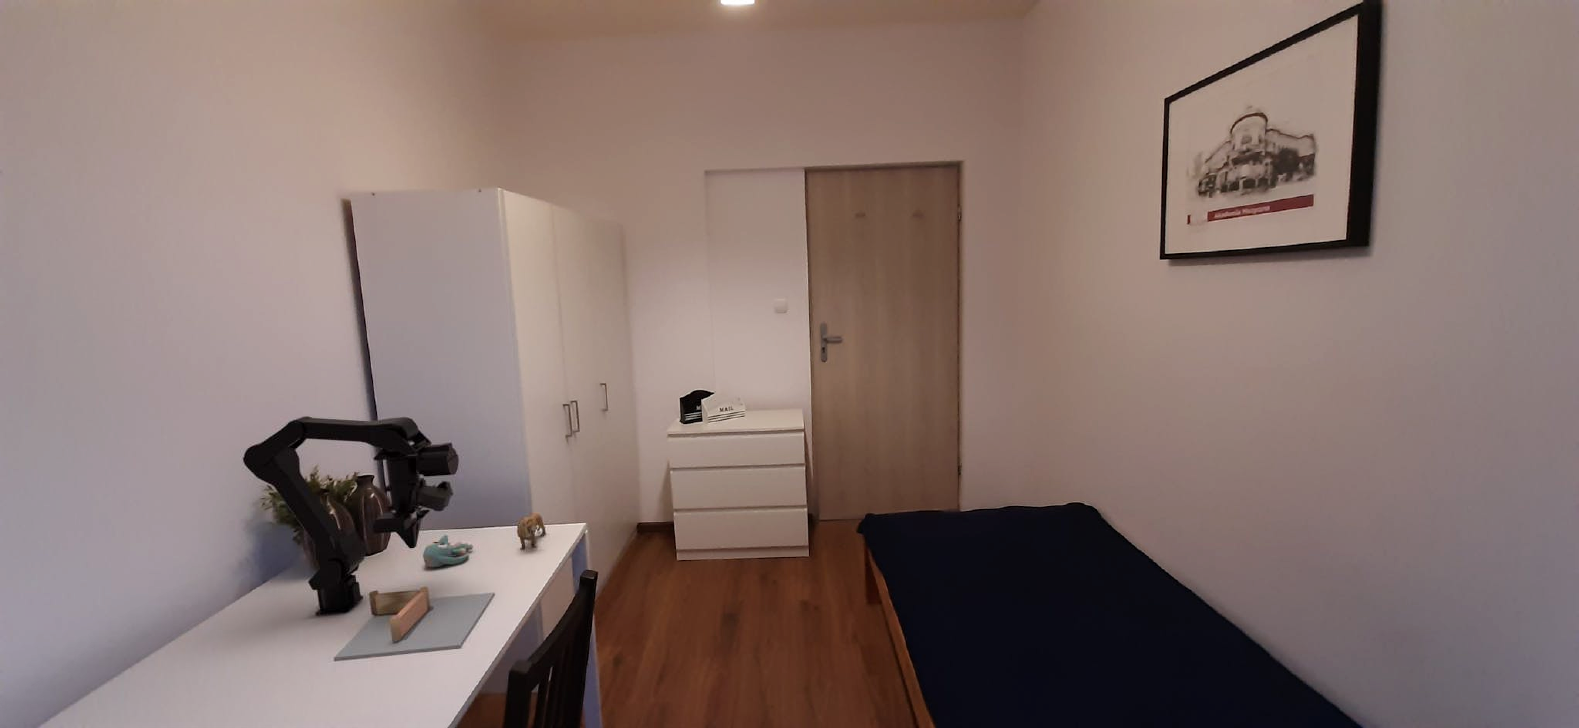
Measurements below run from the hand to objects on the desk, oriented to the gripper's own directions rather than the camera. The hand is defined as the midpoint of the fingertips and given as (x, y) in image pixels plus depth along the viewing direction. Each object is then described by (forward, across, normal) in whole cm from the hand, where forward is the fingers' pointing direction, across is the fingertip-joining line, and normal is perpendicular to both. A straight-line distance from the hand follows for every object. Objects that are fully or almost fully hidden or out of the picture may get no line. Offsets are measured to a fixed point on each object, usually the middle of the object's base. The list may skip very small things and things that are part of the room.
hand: (412, 547), depth 136 cm
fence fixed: (+11, -6, +2) cm, 13 cm away
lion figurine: (+12, +26, -17) cm, 33 cm away
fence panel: (+11, -12, -4) cm, 17 cm away
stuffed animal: (+12, +20, +1) cm, 23 cm away
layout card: (+12, -11, -5) cm, 17 cm away
